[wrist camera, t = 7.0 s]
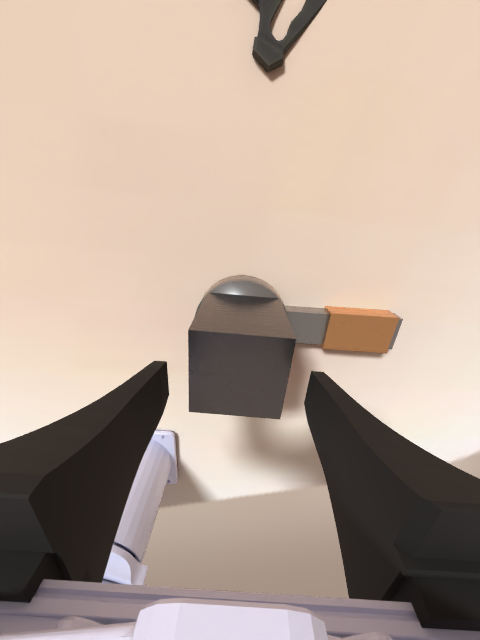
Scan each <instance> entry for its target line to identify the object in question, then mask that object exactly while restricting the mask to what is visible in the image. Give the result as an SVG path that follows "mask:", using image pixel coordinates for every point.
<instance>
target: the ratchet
mask: <svg viewBox="0 0 480 640" xmlns="http://www.w3.org/2000/svg"><path fill="white" fill-rule="evenodd" d="M208 292H211V293H222V294H234V295H246V296H257V297H269V298H280V296H279V295H278V293H277V292H276V291H275V289H274V288H273V287H272V286H270V285H269V284H268V283H266V282H264V281H263V280H261V279H258V278H255V277H252V276H245V275H238V276H231V277H228V278H225V279H222V280H220V281H219V282H217V283H215V284H214V285H213V286H212V287H211V288H210V289H209V290H208V291H207V292H206V294H205V295H204V297H203V299H202V301H201V302H200V304H199V306H198V308H197V311H196V314H197V312H198V310H199V308H200V306H201V304H202V302H203V300H204V298H205V296H206V295H207V293H208ZM280 300H281V298H280ZM281 302H282V300H281ZM282 305H283V302H282ZM283 307H284V310H285V312H286V315H287V317H288V320H289V322H290V325H291V327H292V330H293V332H294V335H295V337H296V342H295V343H306V344H321V346H322V348H323V349H334V350H349V351H363V352H378V353H387V351H388V349H392V347H393V345H394V342H395V339H396V337H397V334H398V331H399V328H400V326H401V323H402V320H403V319H402V318H400V317H399V316H397V315H396V314H394V313H391V312H390V311H388V310H374V309H360V308H345V307H331V306H325V308H310V307H296V306H284V305H283ZM196 314H195V316H196Z"/></svg>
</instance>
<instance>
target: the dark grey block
mask: <svg viewBox="0 0 480 640" xmlns="http://www.w3.org/2000/svg"><path fill="white" fill-rule="evenodd" d="M295 342H296V337H295V335H294V332H293V330H292V327H291V325H290V322H289V320H288V317H287V315H286V312H285V310H284V307H283V305H282V302H281V300H280V298H269V297H257V296H246V295H234V294H222V293H211V292H208V293H207V295H206V296H205V298H204V300H203V302H202V304H201V306H200V308H199V310H198V312H197V314H196V316H195V318H194V320H193V322H192V324H191V326H190V328H189V330H188V345H189V412H198V413H210V414H223V415H235V416H247V417H259V418H271V419H280V417H281V412H282V407H283V402H284V397H285V392H286V387H287V382H288V377H289V372H290V367H291V362H292V357H293V352H294V347H295Z"/></svg>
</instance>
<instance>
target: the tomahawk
mask: <svg viewBox="0 0 480 640" xmlns="http://www.w3.org/2000/svg"><path fill="white" fill-rule="evenodd" d="M252 1H253V2H254V3H255V4H256V5H257V6H258V8H259V10H260V23H259V31H258V37H255V39H254V46H253V53H252V55H253V57H254V58H255V59H256V60H257V61H258V62H259V64H260V65H261V66H262V67H263V68H264V69H265V70H266V71H267V72H270V71H272V70H274V69H276V68H278V67H280V66H282V64H283V55H284V53H285V52H286V51H287V50H288V49H289V48H290V47H291V45H292V44H293V43H294V42H295V41H296V40H297V39H298V37H299V36H300V35H301V34H302V33H303V31H304V30H305V29H306V28H307V26H308V25H309V24H310V23H311V21H312V20H313V19H314V18H315V16H316V15H317V14H318V12H319V11H320V10H321V8H322V7H323V5H324V4H325V2H326V1H327V0H306V2H305V4H304V6H303V8H302V11H301V12H300V13H299V14H298V15H297V16H296V17H295V18H294V20H293V21H292V22H291V24H290V26H289V29H288V32H287V35H286V36H285V38H284V39H283V40H281V41H278V40H276V39H275V38H274V36H273V35H272V33H271V30H270V24H271V21H272V19H273V17H274V15H275V13H276V11H277V9H278V7H279V5H280V3H281V1H282V0H252Z"/></svg>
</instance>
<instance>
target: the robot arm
mask: <svg viewBox="0 0 480 640" xmlns="http://www.w3.org/2000/svg"><path fill="white" fill-rule="evenodd" d="M168 396H169V388H168V374H167V362H164V361H153V362H152V363H151V364H149V365H148V366H146V367H145V368H144V369H142V370H141V371H140V372H138V373H137V374H136V375H134V376H133V377H131V378H130V379H129V380H127V381H126V382H125V383H123V384H122V385H120V386H119V387H117V388H115V389H114V390H112V391H111V392H109V393H108V394H106V395H105V396H103V397H102V398H100V399H98V400H97V401H95V402H93V403H91V404H90V405H88V406H86V407H84V408H82V409H80V410H78V411H77V412H75V413H72V414H70V415H68V416H66V417H64V418H62V419H60V420H58V421H56V422H54V423H51V424H49V425H47V426H45V427H42V428H40V429H37V430H35V431H33V432H30V433H28V434H25V435H23V436H20V437H17V438H15V439H12V440H9V441H7V442H4V443H1V444H0V640H480V479H478V478H476V477H474V476H472V475H470V474H468V473H466V472H464V471H462V470H460V469H458V468H456V467H454V466H452V465H451V464H449V463H447V462H445V461H443V460H441V459H439V458H438V457H436V456H434V455H432V454H431V453H429V452H427V451H425V450H424V449H422V448H420V447H419V446H417V445H415V444H414V443H412V442H411V441H409V440H407V439H406V438H404V437H403V436H401V435H400V434H398V433H397V432H395V431H394V430H392V429H391V428H389V427H388V426H387V425H385V424H384V423H382V422H381V421H380V420H378V419H377V418H376V417H374V416H373V415H372V414H371V413H369V412H368V411H367V410H366V409H364V408H363V407H362V406H361V405H360V404H358V403H357V402H356V401H355V400H354V399H353V398H352V397H350V396H349V395H348V394H347V393H346V392H345V391H344V390H343V389H342V388H341V387H339V386H338V385H337V384H336V383H335V382H334V381H333V380H332V379H331V378H330V377H329V376H327V375H326V374H325V373H324V372H314V371H311V375H310V379H309V384H308V388H307V393H306V397H305V402H304V405H305V411H306V416H307V421H308V425H309V428H310V431H311V434H312V437H313V440H314V443H315V446H316V449H317V452H318V455H319V458H320V461H321V464H322V467H323V471H324V474H325V478H326V482H327V486H328V490H329V494H330V499H331V503H332V508H333V513H334V518H335V522H336V527H337V532H338V538H339V543H340V548H341V553H342V558H343V565H344V570H345V576H346V582H347V588H348V594H349V599H347V598H331V597H315V596H299V595H284V594H269V593H252V592H237V591H222V590H221V591H220V590H205V589H189V588H175V587H158V586H147V585H146V584H144V580H145V577H146V573H147V569H148V567H147V566H145V565H143V564H142V562H143V558H144V555H145V552H146V548H147V545H148V542H149V539H150V535H151V532H152V528H153V525H154V522H155V519H156V515H157V512H158V509H159V505H160V502H161V499H162V495H163V492H164V489H165V486H166V484H176V483H177V480H178V474H177V459H176V443H175V434H174V433H173V432H171V431H159V430H156V428H157V426H158V423H159V421H160V419H161V417H162V414H163V412H164V409H165V406H166V403H167V399H168Z"/></svg>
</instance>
